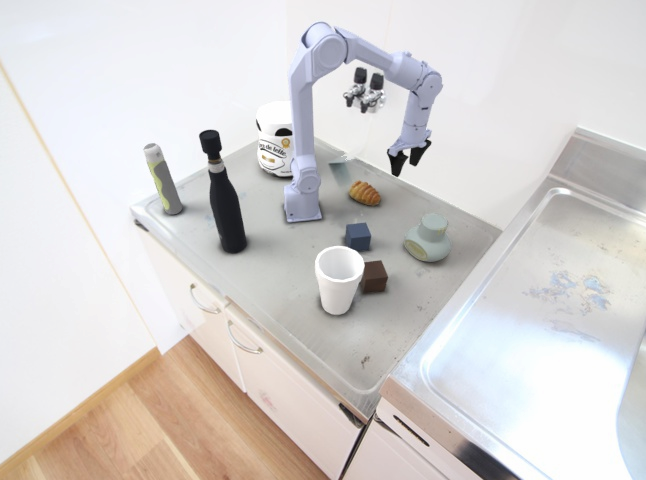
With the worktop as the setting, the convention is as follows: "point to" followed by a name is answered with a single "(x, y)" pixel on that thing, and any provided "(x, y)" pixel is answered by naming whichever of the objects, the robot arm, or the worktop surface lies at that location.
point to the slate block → (358, 236)
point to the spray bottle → (162, 178)
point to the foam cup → (338, 277)
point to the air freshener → (429, 238)
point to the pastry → (364, 193)
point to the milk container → (275, 138)
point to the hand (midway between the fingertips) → (404, 170)
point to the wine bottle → (223, 196)
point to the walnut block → (373, 277)
